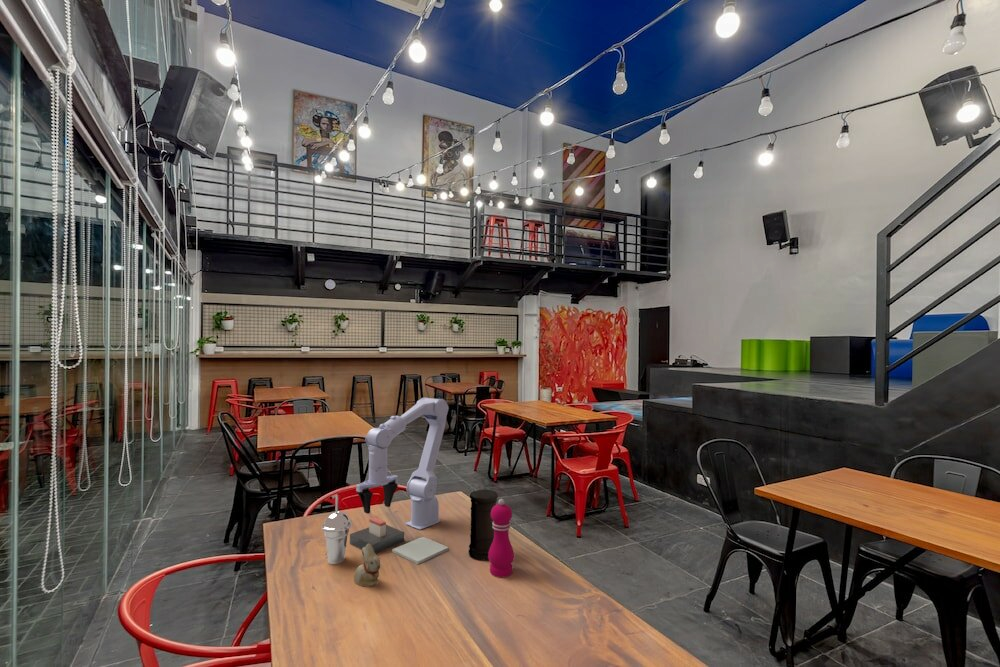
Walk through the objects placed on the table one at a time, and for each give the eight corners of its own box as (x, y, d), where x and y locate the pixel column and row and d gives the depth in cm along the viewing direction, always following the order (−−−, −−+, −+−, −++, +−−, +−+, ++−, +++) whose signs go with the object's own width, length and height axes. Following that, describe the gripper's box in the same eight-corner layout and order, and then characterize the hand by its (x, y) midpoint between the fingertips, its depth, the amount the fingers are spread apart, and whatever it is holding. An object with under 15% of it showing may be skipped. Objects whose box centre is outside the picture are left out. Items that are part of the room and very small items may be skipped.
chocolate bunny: (360, 591, 115) (360, 551, 115) (351, 578, 121) (352, 540, 121) (381, 585, 118) (382, 546, 118) (372, 572, 124) (372, 536, 124)
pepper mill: (511, 579, 121) (511, 504, 121) (485, 576, 122) (485, 502, 123) (516, 566, 128) (516, 495, 128) (491, 564, 129) (491, 493, 130)
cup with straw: (357, 557, 133) (358, 488, 134) (334, 570, 125) (335, 498, 126) (336, 551, 137) (337, 485, 137) (312, 564, 129) (313, 493, 129)
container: (499, 547, 140) (500, 489, 140) (496, 561, 131) (497, 499, 131) (471, 546, 141) (471, 488, 141) (466, 560, 132) (466, 497, 132)
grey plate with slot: (381, 531, 152) (381, 522, 152) (404, 541, 144) (404, 532, 144) (349, 543, 142) (349, 534, 142) (372, 554, 135) (372, 544, 135)
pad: (422, 539, 146) (422, 536, 146) (448, 549, 138) (448, 547, 138) (392, 552, 137) (392, 549, 137) (417, 564, 129) (418, 561, 129)
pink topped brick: (374, 539, 146) (374, 517, 146) (385, 544, 142) (385, 522, 142) (368, 541, 144) (369, 519, 144) (380, 546, 140) (380, 523, 141)
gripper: (365, 473, 136) (364, 518, 135) (404, 464, 147) (403, 506, 146) (352, 469, 140) (351, 513, 140) (391, 460, 151) (390, 501, 151)
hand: (377, 509), depth 143 cm, fingers open, 7 cm apart
